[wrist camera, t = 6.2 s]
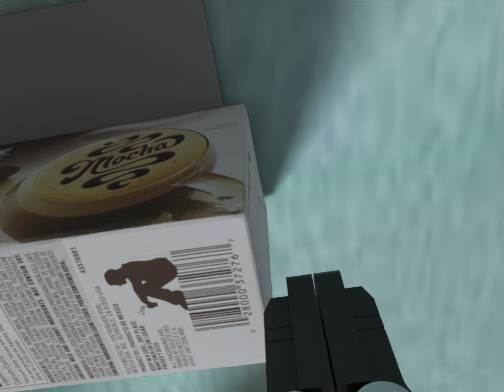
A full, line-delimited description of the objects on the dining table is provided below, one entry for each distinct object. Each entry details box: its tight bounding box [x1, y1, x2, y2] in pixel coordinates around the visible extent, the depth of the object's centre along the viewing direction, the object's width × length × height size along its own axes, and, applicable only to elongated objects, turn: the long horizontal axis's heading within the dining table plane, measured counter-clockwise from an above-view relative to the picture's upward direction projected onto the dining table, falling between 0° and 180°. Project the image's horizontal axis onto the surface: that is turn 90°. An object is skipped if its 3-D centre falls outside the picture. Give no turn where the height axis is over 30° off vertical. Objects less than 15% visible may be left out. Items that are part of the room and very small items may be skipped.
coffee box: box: [0, 104, 272, 392], centre depth 17 cm, size 9×6×16 cm
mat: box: [0, 0, 224, 145], centre depth 22 cm, size 16×16×1 cm
